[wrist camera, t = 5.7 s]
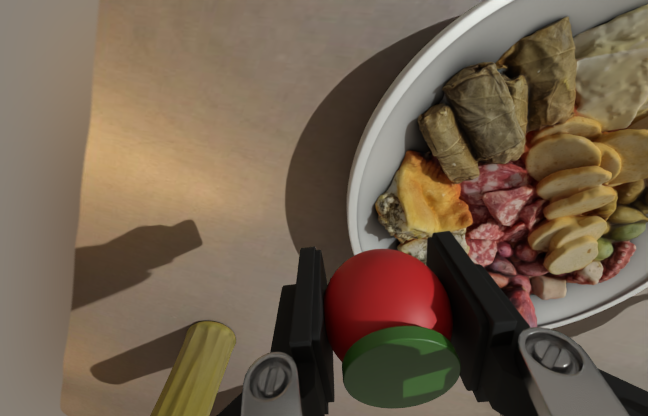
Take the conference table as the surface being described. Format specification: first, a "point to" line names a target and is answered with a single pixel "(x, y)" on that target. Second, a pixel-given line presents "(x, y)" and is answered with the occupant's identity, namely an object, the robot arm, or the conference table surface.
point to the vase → (197, 371)
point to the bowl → (519, 153)
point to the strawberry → (391, 329)
